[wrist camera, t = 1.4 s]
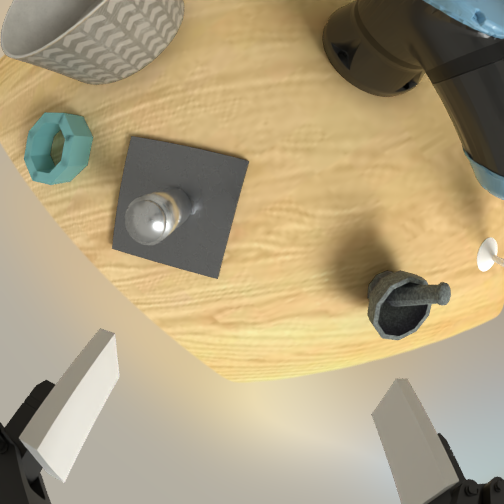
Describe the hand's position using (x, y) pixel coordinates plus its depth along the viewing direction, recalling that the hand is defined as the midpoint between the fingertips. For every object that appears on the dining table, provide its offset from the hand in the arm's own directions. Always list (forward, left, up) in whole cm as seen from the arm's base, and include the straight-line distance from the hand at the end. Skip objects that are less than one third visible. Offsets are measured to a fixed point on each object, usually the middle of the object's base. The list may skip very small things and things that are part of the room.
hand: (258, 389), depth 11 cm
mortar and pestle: (+2, +22, -27) cm, 35 cm away
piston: (-1, -11, -27) cm, 29 cm away
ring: (-6, -31, -27) cm, 42 cm away
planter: (-25, -26, -27) cm, 45 cm away
